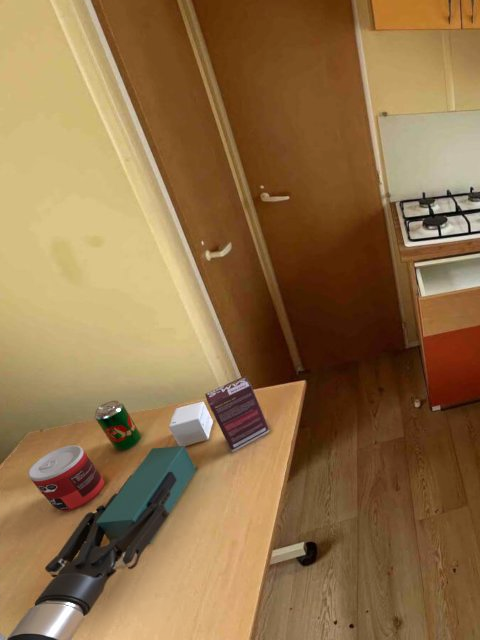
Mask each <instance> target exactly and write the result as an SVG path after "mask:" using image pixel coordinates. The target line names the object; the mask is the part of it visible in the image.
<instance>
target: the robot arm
mask: <svg viewBox="0 0 480 640" xmlns="http://www.w3.org/2000/svg"><path fill="white" fill-rule="evenodd" d="M131 476H132V474H131V475H130V476H129V477H128V478H127V479H126V481H125V482H124V484H123V485H122V486H121V488H120V489H118V491H117V493H114V494H113V495H112V496H111V497H110V498H109V499H108V501H107V502H106V503H105V504H104V505H103V504H101V505H99V506H97V508H96V509H95V511H96V512H93V511H90V512H87V513H86V514H85V515H84V517H83V518H82V519H81V521H80V523H78V525H77V527H76V528H75V529H74V531H73V532H72V533H71V535H70V537H69V538H68V539H67V541H66V542H65V544H64V545H63V547H62V548H61V549H60V551H59V552H58V554H57V555H56V556H55V557H54V558H53V559H52V560H50V562H49V563H48V564H47V565H45V567H44V570H45V571H46V572H47V573H48V574H49V575H50V576H51V577H52V579H51V580H50V581H49V582H48V584H47V585H46V586H45V588H44V589H43V590H42V592H41V593H40V595H39V596H38V597H37V598H36V600H35V602H34V606H31V607H30V608H29V609H28V610H27V611H26V612H25V614H24V616H23V617H22V618H21V619H20V620H19V622H18V624H17V625H16V626H15V628H13V630H12V632H11V633H10V634H9V635H8V637H7V638H6V637H5V636H4V635H3V634H2V633H0V640H72V639H73V637H74V636H75V634H76V633H77V632H78V630H79V628H80V627H81V625H82V624H83V622H84V620H85V616H87V615H88V614H89V613H90V612H91V610H92V609H93V607H94V605H95V604H96V603H97V601H98V600H99V598H100V596H102V594H103V592H104V589H105V586H106V583H107V581H108V580H109V579H110V578H111V577H113V575H114V574H115V573H116V572H117V571H118V570H121V569H122V570H123V569H125V568H128V570H133V569H135V568H136V566H137V565H138V563H139V560H140V557H141V555H142V553H143V552H144V551H145V549H146V548H147V546H148V545H149V544H148V543H149V542H150V541H151V539H152V538H153V536H154V535H155V534H156V532H157V531H158V529H159V528H160V529H161V527H162V526H163V524H164V522H165V521H166V520H167V518H168V517H169V515H170V513H168V512H167V510H166V508H165V507H164V504H165V503H166V501H167V499H168V498H169V496H170V494H171V493H170V490H171V488H172V487H173V485H174V484H175V482H176V481H177V479H176V478H175V476H174V474H173V472H168V473H167V475H166V476H165V478H164V479H163V481H162V482H161V484H160V485H159V487H158V488H157V489H156V491H155V492H154V494H153V495H152V497H151V498H150V500H149V501H148V504H149V507H148V508H147V509H146V510H145V511H144V512H143V513H142V514H141V515H140V516H139V517H138V518H137V520H136V521H135V522H133V523H132V524H131V525H130V526H129V527H127V528H126V529H125V530H124V531H123V532H122V533H121V534H120V535H119V536H118V537H117V538H114V539H113V540H111V541H109V542H108V543H107V544H105V545H103V546H101V544H102V542H103V539H104V537H105V535H104V534H105V532H104V531H103V530H102V528H101V527H100V526H97V524H96V522H97V520H98V519H99V518H100V516H101V515H102V514H103V513H104V511H105V510H106V509H107V507H108V506H109V505H110V503H111V502H112V501H113V499H114V498H115V497H116V495H117V494H118V493H119V491H120V490H121V489H122V488H123V486H124V485H125V484H126V482H127V481H128V480H129V478H130V477H131ZM161 525H162V526H161ZM160 529H159V530H160ZM158 532H159V531H158ZM158 532H157V533H158ZM156 535H157V534H156ZM156 535H155V536H156Z"/></svg>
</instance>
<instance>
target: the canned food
mask: <svg viewBox="0 0 480 640" xmlns="http://www.w3.org/2000/svg"><path fill="white" fill-rule="evenodd" d="M27 475H28V477H29V479H30V480H31V482H32V483H33V484H34V485H35V487H36V488H37V489H38V490H39V492H40V493H41V494H42V495H43V496H44V497H45V499H46V500H47V501H48V502H49V503H50V504H51V506H52V507H53V508H54V509H55V510H57V511H59V512H64V513H65V512H70V511H74V510H78V509H80V508H82V507H84V506H86V505H87V504H89V503H90V502H92V501H94V499H96V498H97V497H98V496H99V495H100V494H101V492H102V491H103V489H104V486H105V480H104V477H103V476H102V475H101V473H100V472H99V470H98V469H97V467H96V466H95V464H94V463H93V462H92V460H91V459H90V457H89V456H88V455H87V453H86V452H85V450H84V449H83V448H82V447H81V446H79V445H74V444H73V445H67V446H63V447H60V448H57V449H55V450H52V451H51V452H49V453H46V454H45V455H44V456H42V457H40V458H39V459H38V460H37V461H36V462H35V463H34V464H32V466H31V467H30V468H29V470H28V473H27Z"/></svg>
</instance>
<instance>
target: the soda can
mask: <svg viewBox="0 0 480 640" xmlns="http://www.w3.org/2000/svg"><path fill="white" fill-rule="evenodd" d="M94 419H95V421H96V422H97V424H98V426H100V428H101V430H102V432H103V433H104V434H105V436H106V437H107V439H108V441H109V443H110V444H111V445H112V447H113V448H114V450H115V451H118V452H119V451H121V452H122V451H127V450H130V449H132V448H134V447H135V446H137V445H138V443H139V442H140V441H141V439H142V434H141V432H140V430H139V429H138V427H137V425H136V423H135V421H134V420H133V418H132V417H131V416H130V414H129V412H128V410H127V408H126V407H125V405H124V403H122V402H120V401H119V400H109V401H106V402H104V403H102V404H100V405H99V406H98V407H96V408H95V410H94Z"/></svg>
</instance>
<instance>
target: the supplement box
mask: <svg viewBox="0 0 480 640" xmlns="http://www.w3.org/2000/svg"><path fill="white" fill-rule="evenodd" d="M204 395H205V399H206V401H207V403H208V406H209V408H210V410H211V412H212V414H213V417H214V418H215V421H216V422H217V424H218V427H219V428H220V429H219V430H220V431H221V433H222V434H223V437H224V439H225V442H226V444H227V445H228V446H229V449H230V450H231V452H232V453H234V452H236V451H238V450H240V449H242V448H243V447H245V446H247V445H249V444H251V443H252V442H254V441H256V440H258V439H260V438H262V437H264V436H265V435H266V434H269V433H270V428H269V425H268V423H267V420H266V418H265V415H264V413H263V410H262V407H261V406H260V404H259V401H258V399H257V396H256V394H255V391H254V388H253V387H252V383H251V382H250V381H249V379H248V378H247V376H246V375H244V376H241V377H239V378H237V379H235V380H233V381H231V382H228V383H226V384H224V385H222V386H220V387H218V388H215V389H213V390H210V391H209V392H207V393H204Z"/></svg>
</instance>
